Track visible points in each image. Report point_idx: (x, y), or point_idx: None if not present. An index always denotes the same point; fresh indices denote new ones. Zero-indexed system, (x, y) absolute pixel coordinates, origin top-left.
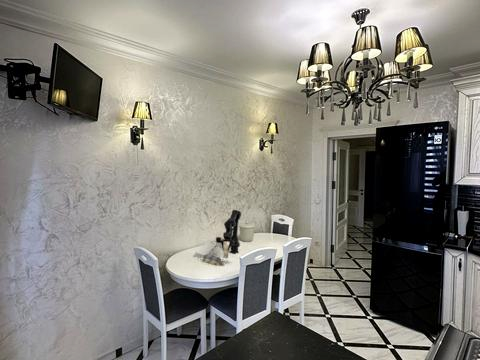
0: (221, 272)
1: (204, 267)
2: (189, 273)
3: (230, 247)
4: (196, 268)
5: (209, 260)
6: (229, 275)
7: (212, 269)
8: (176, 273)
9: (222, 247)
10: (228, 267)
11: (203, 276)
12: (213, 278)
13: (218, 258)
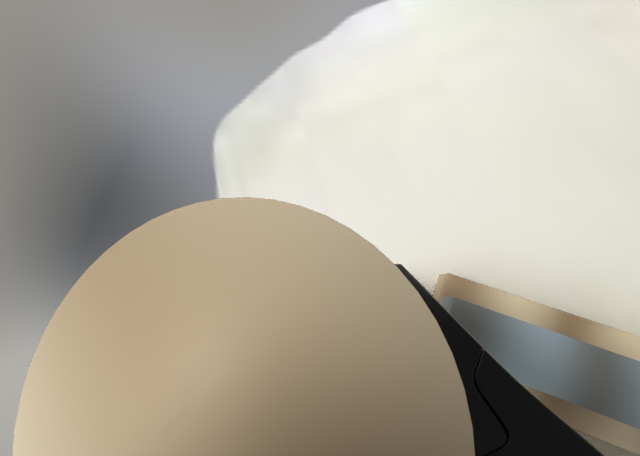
0: (331, 137)
1: (555, 187)
2: (614, 13)
3: None
4: (626, 134)
5: (596, 323)
6: (248, 108)
7: (443, 169)
8: None
9: (424, 294)
10: None
11: (450, 14)
12: (353, 17)
13: (467, 329)
